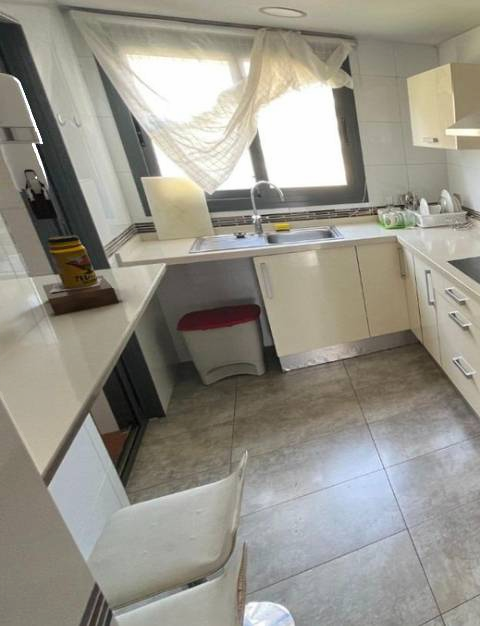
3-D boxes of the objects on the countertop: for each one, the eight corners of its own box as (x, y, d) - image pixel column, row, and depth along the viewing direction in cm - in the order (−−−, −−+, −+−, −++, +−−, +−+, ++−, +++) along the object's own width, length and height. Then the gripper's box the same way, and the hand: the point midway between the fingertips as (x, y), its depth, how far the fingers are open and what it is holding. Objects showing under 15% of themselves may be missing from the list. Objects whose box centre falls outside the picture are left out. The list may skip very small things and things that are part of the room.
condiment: (99, 286, 111) (80, 237, 107) (49, 293, 106) (27, 242, 102) (102, 279, 116) (83, 232, 112) (54, 286, 111) (34, 237, 107)
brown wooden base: (55, 315, 104) (47, 299, 102) (48, 300, 114) (42, 285, 112) (119, 302, 112) (113, 287, 110) (108, 289, 121) (102, 275, 120)
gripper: (-12, 137, 101) (19, 215, 107) (-12, 136, 91) (23, 222, 97) (37, 137, 107) (64, 211, 113) (43, 136, 96) (73, 218, 102)
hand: (45, 216), depth 105 cm, fingers open, 9 cm apart
